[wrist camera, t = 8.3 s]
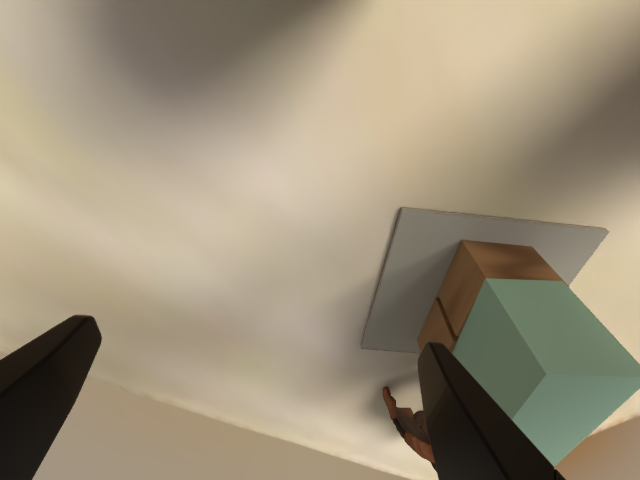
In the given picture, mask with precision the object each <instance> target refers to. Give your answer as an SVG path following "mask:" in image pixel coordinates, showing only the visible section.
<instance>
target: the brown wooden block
mask: <svg viewBox="0 0 640 480" xmlns="http://www.w3.org/2000/svg"><path fill="white" fill-rule="evenodd" d="M458 338H459V336H456V335H455V333H454V331H453V328H452V326H451V324H450V321H449V319H448V317H447V314H446V312H445V310H444V307H443V305H442V303H441V300H440V298H435V300H434V302H433V305H432V307H431V309H430V311H429V314H428V316H427V318H426V320H425V323H424V325H423V327H422V329H421V332H420V334H419V336H418V338H417V342H418V345H419V348H420V352H422V350H423V348H424V346H425V344H426V343H427V342H429V341H431V342H441V343H442V344H444V345H445V346H446V347H447V348H448V350H449V351H450V352H451V353H452V352H453V349H454V347H455V345H456V343H457V341H458Z"/></svg>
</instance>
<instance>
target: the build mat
mask: <svg viewBox="0 0 640 480" xmlns="http://www.w3.org/2000/svg"><path fill="white" fill-rule="evenodd" d="M608 233H609V231H608V230H607V229H605V228H598V227H588V226H578V225H569V224H559V223H550V222H540V221H530V220H521V219H511V218H501V217H492V216H482V215H473V214H463V213H453V212H444V211H434V210H424V209H415V208H405V207H401V210H400V214H399V217H398V221H397V224H396V227H395V231H394V234H393V238H392V241H391V244H390V248H389V251H388V254H387V258H386V261H385V265H384V268H383V271H382V275H381V278H380V282H379V285H378V288H377V292H376V295H375V299H374V302H373V305H372V309H371V312H370V315H369V319H368V322H367V326H366V329H365V332H364V336H363V339H362V343H361V349H372V350H385V351H399V352H412V353H421V352H420V348H419V345H418V342H417V338H418V336H419V334H420V332H421V329H422V327H423V325H424V323H425V320H426V318H427V316H428V314H429V311H430V309H431V307H432V305H433V302H434V300H435V298H439V296H438V291H439V289H440V287H441V284H442V282H443V280H444V278H445V275H446V273H447V271H448V269H449V266H450V264H451V262H452V260H453V257H454V255H455V253H456V251H457V248H458V246H459V244H460V242H461V240H471V241H481V242H492V243H502V244H512V245H522V246H532V247H533V248H534V249H535V250H536V251H537V252H538V253H539V255H540V256H541V257H542V258H543V259H544V260H545V261H546V262H547V263H548V264H549V265H550V266H551V268H552V269H553V270H554V271H555V272H556V273H557V274H558V275H559V276H560V277H561V278H562V279H563V280H564V282H565V283H566V284H567V285H568V286H569V285H570V284H571V282H572V281H573V280H574V278H575V277H576V275H577V274H578V273H579V271H580V270H581V269H582V267H583V266H584V265H585V263H586V262H587V261H588V259H589V258H590V257H591V255H592V254H593V253H594V251H595V250H596V249H597V247H598V246H599V245H600V243H601V242H602V241H603V239H604V238H605V237H606V235H607V234H608Z"/></svg>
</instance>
